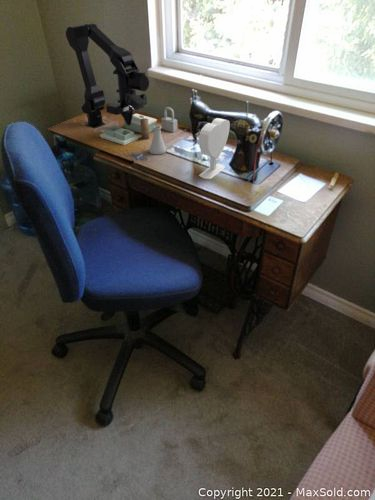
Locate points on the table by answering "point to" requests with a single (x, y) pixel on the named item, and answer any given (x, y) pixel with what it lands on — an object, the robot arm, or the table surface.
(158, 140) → the flask
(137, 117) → the cover
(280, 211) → the table surface
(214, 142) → the heart sculpture
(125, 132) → the build board
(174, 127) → the padlock
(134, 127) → the box
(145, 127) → the dowel
